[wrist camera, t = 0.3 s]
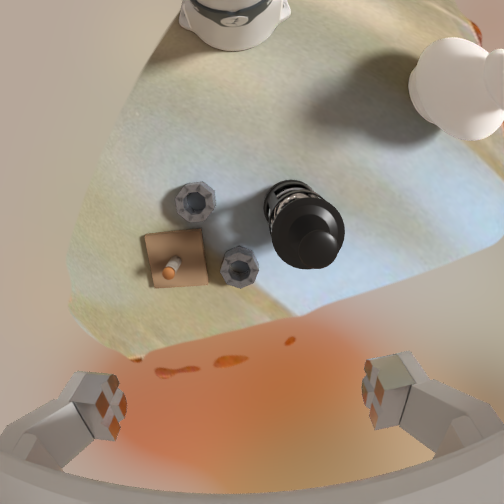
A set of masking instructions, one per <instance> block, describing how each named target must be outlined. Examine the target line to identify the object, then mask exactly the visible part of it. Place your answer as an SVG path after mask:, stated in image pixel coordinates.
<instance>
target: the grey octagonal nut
mask: <svg viewBox="0 0 504 504" xmlns="http://www.w3.org/2000/svg"><path fill="white" fill-rule="evenodd" d="M192 192H198V193H200V194H201V195H202V196H203V197H205V202H206V207H205V208H204V209H203V210H193V209H192V208H191V207H190V206H188V202H187V196H188V194H189V193H192ZM175 201H176V208H177V213H178V214H179V215H180V216H182V217H183V218H184V219H185V220H187V221H188V222H189V223H190V222H200V221H205V220H206V218H207V217H208V216H209V215H210V213H211V212H212V211H213V210H214V208H215V206H216V200H215V191H214V190H213V189H212V188H211V187H209V186H208V185H207V184H206V183H204V182H194V183H188V184H186V185H185V186H184V187H183V188H182V190H181V191H180V192H179V193H178V195H177V196H176V197H175Z"/></svg>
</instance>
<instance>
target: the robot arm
mask: <svg viewBox="0 0 504 504" xmlns="http://www.w3.org/2000/svg"><path fill="white" fill-rule="evenodd" d="M283 6H284V8H283ZM290 15H291V10H290V7H289V4H288V2H287V0H183V2H182V6H181V12H180V17H179V24H180V26H181V27H183V28H185V29H187V30H190V31H193V32H194V33H196V34H197V35H198V36H199V37H200V38H201V39H202V40H203V41H204V42H205V43H207V44H208V45H210V46H212V47H214V48H217V49H221V50H226V51H240V50H245V49H249V48H252V47H255V46H257V45H259V44H260V43H262V42H263V41H265V40H266V39H267V38H268V37H269V36H270V35H271V34H272V32H273V31H274V29H275V28H276V26H277V25H278V24H279V23H281V22H283V21H284V20H286V19H287V18H289V17H290ZM185 16H186V17H185ZM364 370H365V372H366V376H365V377H364V378H363V380H362V397H363V401H364V404H365V406H366V407H368V408H369V409H370V414H369V417H370V419H371V422H372V424H373V427H374V430H378V429H383V428H388V427H393V426H397V425H399V427H401V428H402V429H403V430H405V431H406V432H408V433H409V434H410V435H412V436H413V437H414V438H416V439H417V440H418V441H420V442H421V443H422V444H424V445H425V446H426V447H428V448H429V449H431V450H432V451H433V452H435V453H436V454H435V456H434V457H433V459H432V460H430V461H427V462H424V463H421V464H418V465H414V466H412V467H408V468H405V469H401V470H398V471H394V472H390V473H386V474H383V475H379V476H374V477H370V478H366V479H361V480H357V481H352V482H347V483H341V484H336V485H330V486H324V487H317V488H310V489H302V490H293V491H282V492H269V493H253V494H252V493H250V494H202V493H184V492H171V491H160V490H152V489H144V488H137V487H129V486H124V485H118V484H113V483H108V482H103V481H98V480H93V479H88V478H84V477H80V476H76V475H72V474H69V473H65V472H64V471H63V470H62V468H63V467H64V466H65V465H66V464H68V463H69V462H70V461H71V460H72V459H73V458H74V457H76V456H77V455H78V454H79V453H80V452H81V451H82V450H84V449H85V448H86V447H87V446H88V445H89V444H90V443H91V442H92V441H94V439H100V440H109V441H116V439H117V436H118V433H119V431H120V428H121V427H120V424H119V422H120V421H121V420H123V419H124V418H125V415H126V412H127V401H126V397H125V395H124V393H123V392H122V391H121V390H120V389H119V388H118V386H119V381H118V378H117V376H116V375H114V374H107V373H96V372H83V371H77V372H75V373H74V374H73V376H72V377H71V378H70V380H69V382H68V383H67V385H66V386H65V388H64V389H63V391H62V393H61V394H60V396H59V397H58V399H53V400H51V401H50V402H48V403H46V404H44V405H42V406H41V407H39V408H38V409H35V410H34V411H32V412H30V413H28V414H27V415H25V416H23V417H21V418H20V419H18V420H16V421H14V422H13V423H11V424H9V425H7V427H6V428H5V430H4V431H3V433H2V434H1V436H0V504H504V424H503V422H502V421H501V419H500V418H499V417H498V415H497V414H496V412H495V411H494V410H493V408H492V407H491V405H490V404H488V403H485V402H483V401H481V400H479V399H476V398H474V397H472V396H470V395H468V394H465V393H463V392H461V391H459V390H457V389H454V388H452V387H450V386H448V385H446V384H443V383H441V382H439V381H437V380H434V379H433V380H430V379H429V377H428V376H427V375H426V373H425V372H424V370H423V369H422V367H421V365H420V364H419V363H418V361H417V360H416V358H415V357H414V355H413V354H412V352H410V351H406V352H401V353H396V354H393V355H388V356H383V357H378V358H372V359H367V360H366V362H365V367H364Z"/></svg>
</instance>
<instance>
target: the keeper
mask: <svg viewBox="0 0 504 504" xmlns="http://www.w3.org/2000/svg"><path fill="white" fill-rule="evenodd" d="M145 242H146V247H147V253H148V258H149V263H150V268H151V273H152V278H153V282H154V287H155V288H170V287H185V286H200V285H208V283H209V279H208V273H207V266H206V259H205V252H204V244H203V237H202V229H201V228H199V229H189V230H178V231H169V232H159V233H149V234H146V235H145Z"/></svg>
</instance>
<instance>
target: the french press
mask: <svg viewBox="0 0 504 504" xmlns="http://www.w3.org/2000/svg"><path fill="white" fill-rule="evenodd" d="M287 188H290V189H287ZM284 189H287V190H285V191H283V192H281V193H280V194H279V195H278V196H276V195H277V194H278V193H279V192H280V191H282V190H284ZM317 196H318V197H320V198H321V199H319V198H318V197H317ZM264 214H265V217H266V220H267V221H268V223H269V230H270V234H271V236H272V243H273V246H274V249H275V251H276V252H277V254H278V256H279V257H280V258H281V259H282V260H283V261H284V262H286V263H287V264H288V265H291V266H293V267H295V268H299V269H321V268H324V267H327V266H328V265H330V264H331V263H332V262H333V261H334V260H335V258H336V256H337V254H338V252H339V250H340V249H341V247H342V244H343V241H344V235H345V229H344V223H343V219H342V217H341V215H340V213H339V212H338V211H337V210H336V208H335V207H334V206H332V205H331V204H330V203H329V202H327V201H326V200H324V199H323V198H322V197H321V196H320V195H318V194H317V193H316V192H314V191H313V190H312V188H311V187H309V186H308V185H307V184H305V183H303V182H301V181H298V180H285V181H282V182H280V183H278V184H276V185H275V186H274V187H272V188H271V189H270V191H269V192H268V194H267V196H266V198H265V201H264ZM271 228H272V232H271Z"/></svg>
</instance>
